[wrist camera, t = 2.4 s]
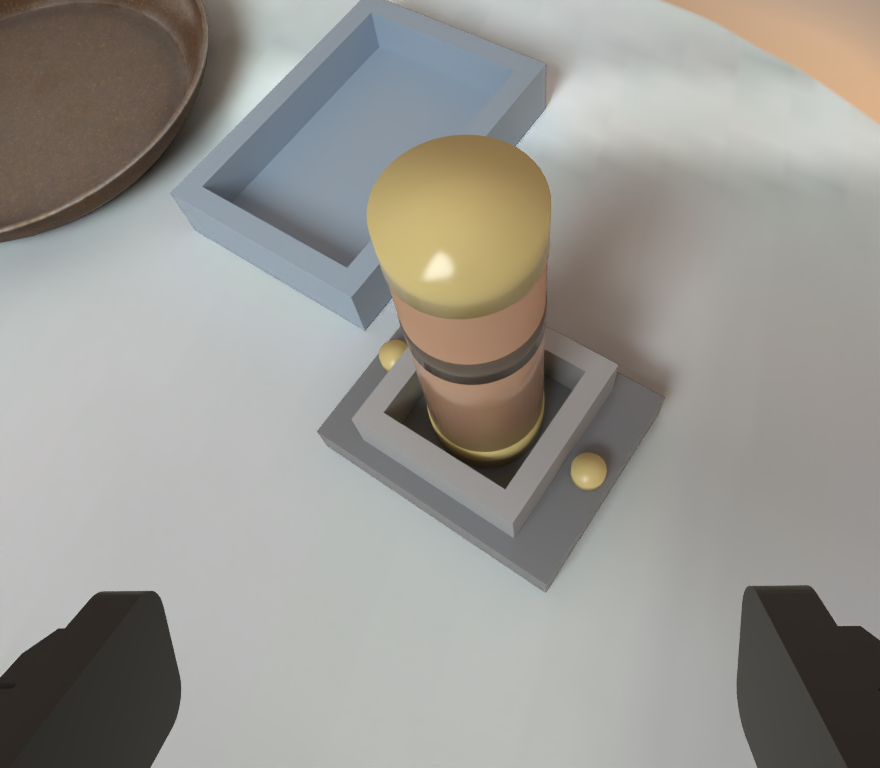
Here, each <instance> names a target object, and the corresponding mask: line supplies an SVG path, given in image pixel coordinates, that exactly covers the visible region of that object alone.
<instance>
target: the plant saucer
mask: <svg viewBox="0 0 880 768" xmlns="http://www.w3.org/2000/svg"><path fill="white" fill-rule="evenodd" d="M208 40H209V36H208V21H207V15H206V11H205V7H204V5H203V2H202V0H0V242H5V241H11V240H15V239H20V238H24V237H28V236H32V235H36V234H39V233H42V232H45V231H48V230H51V229H54V228H56V227H59V226H62V225H64V224H67V223H69V222H72V221H74V220H76V219H78V218H80V217H82V216H84V215H86V214H88V213H90V212H92V211H94V210H95V209H97V208H99V207H101V206H102V205H104V204H106V203H107V202H109V201H110V200H112V199H113V198H115V197H116V196H117V195H119V194H120V193H122V192H123V191H124V190H126V189H127V188H128V187H129V186H130V185H132V184H133V183H134V182H135V181H137V180H138V179H139V178H140V177H141V176H142V175H143V174H144V173H145V172H146V171H147V170H148V169H149V168H150V167H151V166H152V165H153V164H154V163H155V162H156V161H157V160H158V158H159V157H160V156H161V155H162V154H163V152H164V151H165V150H166V149H167V147H168V146H169V145H170V143H171V142H172V141H173V139H174V138H175V136H176V135H177V133H178V132H179V130H180V128H181V127H182V125H183V123H184V122H185V120H186V118H187V116H188V114H189V112H190V110H191V108H192V106H193V104H194V101H195V99H196V97H197V94H198V91H199V88H200V85H201V82H202V78H203V74H204V70H205V66H206V59H207V51H208Z"/></svg>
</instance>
